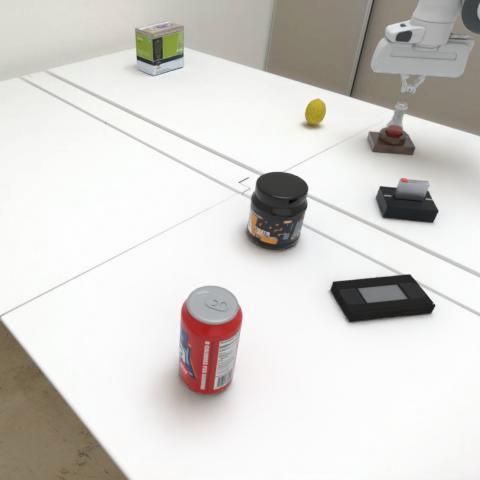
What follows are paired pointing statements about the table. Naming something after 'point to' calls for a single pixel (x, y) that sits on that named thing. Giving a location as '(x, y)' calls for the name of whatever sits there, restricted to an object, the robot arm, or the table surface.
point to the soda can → (209, 339)
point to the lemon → (315, 111)
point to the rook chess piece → (398, 114)
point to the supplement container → (277, 210)
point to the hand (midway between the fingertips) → (407, 92)
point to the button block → (390, 143)
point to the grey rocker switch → (411, 189)
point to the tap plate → (405, 206)
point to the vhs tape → (381, 297)
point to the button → (394, 130)
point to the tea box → (159, 47)
